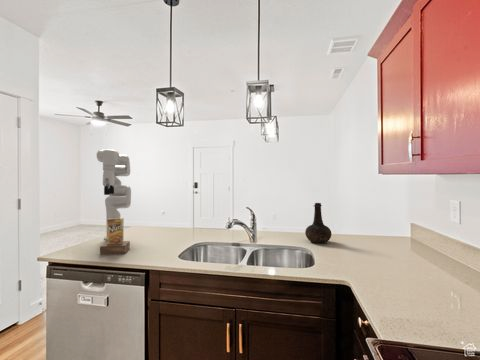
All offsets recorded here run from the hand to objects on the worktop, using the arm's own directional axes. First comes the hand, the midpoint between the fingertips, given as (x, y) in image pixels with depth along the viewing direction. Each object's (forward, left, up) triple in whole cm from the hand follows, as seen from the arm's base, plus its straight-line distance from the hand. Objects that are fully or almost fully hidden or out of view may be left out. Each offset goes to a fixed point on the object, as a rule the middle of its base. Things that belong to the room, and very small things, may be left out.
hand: (109, 194), depth 184 cm
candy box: (+15, +8, -30) cm, 34 cm away
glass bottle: (+7, +143, -35) cm, 147 cm away
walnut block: (+15, +8, -34) cm, 38 cm away
